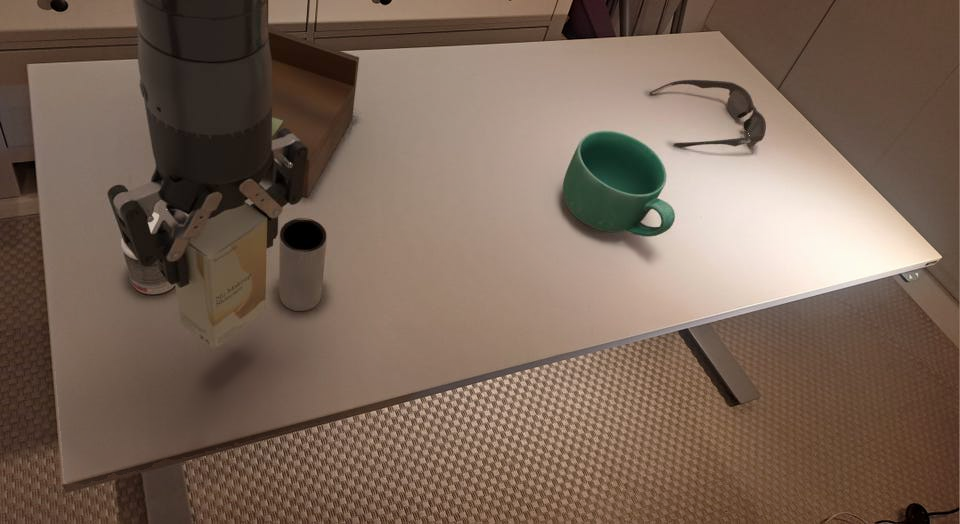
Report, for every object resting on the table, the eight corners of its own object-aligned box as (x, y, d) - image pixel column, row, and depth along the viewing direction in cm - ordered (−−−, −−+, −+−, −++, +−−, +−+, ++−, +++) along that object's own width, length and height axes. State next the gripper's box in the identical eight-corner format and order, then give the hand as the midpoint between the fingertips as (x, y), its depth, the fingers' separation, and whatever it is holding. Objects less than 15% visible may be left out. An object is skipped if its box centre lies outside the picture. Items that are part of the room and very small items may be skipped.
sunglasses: (763, 159, 112) (777, 137, 108) (672, 160, 109) (682, 136, 105) (728, 98, 122) (739, 76, 118) (643, 97, 119) (652, 74, 115)
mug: (537, 190, 93) (559, 139, 86) (601, 171, 100) (626, 122, 93) (609, 276, 86) (639, 228, 79) (673, 249, 92) (706, 202, 85)
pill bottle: (186, 286, 70) (177, 235, 64) (139, 301, 68) (125, 250, 62) (171, 255, 72) (161, 202, 66) (124, 268, 70) (110, 215, 64)
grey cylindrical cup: (293, 318, 71) (295, 258, 63) (271, 289, 73) (270, 227, 65) (329, 300, 73) (335, 240, 66) (307, 273, 75) (310, 211, 67)
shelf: (307, 198, 82) (310, 133, 74) (167, 153, 81) (156, 83, 74) (352, 120, 94) (359, 57, 86) (230, 80, 93) (226, 12, 85)
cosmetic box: (214, 351, 57) (205, 262, 48) (178, 323, 57) (162, 230, 48) (269, 307, 61) (270, 216, 52) (234, 281, 62) (229, 188, 53)
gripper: (122, 165, 36) (159, 333, 48) (339, 95, 44) (323, 253, 56) (59, 87, 38) (109, 266, 50) (275, 34, 47) (273, 199, 59)
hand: (222, 259), depth 53 cm, fingers closed on cosmetic box, 7 cm apart
